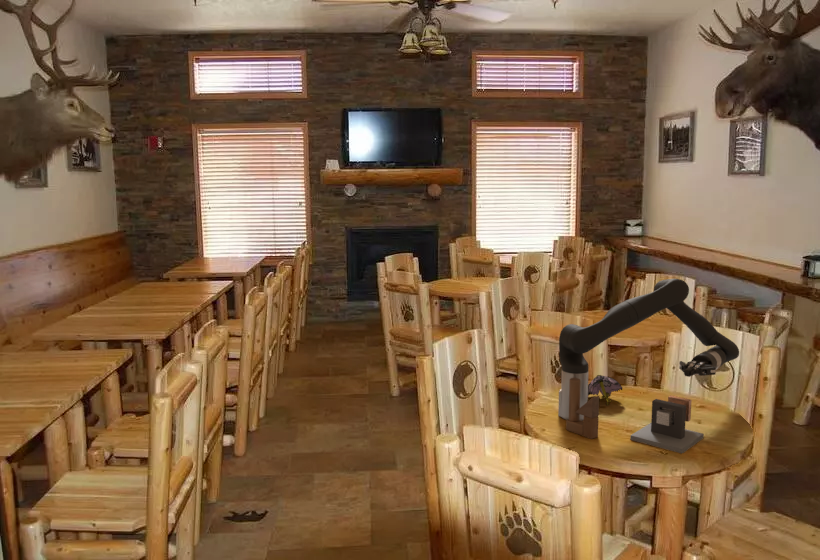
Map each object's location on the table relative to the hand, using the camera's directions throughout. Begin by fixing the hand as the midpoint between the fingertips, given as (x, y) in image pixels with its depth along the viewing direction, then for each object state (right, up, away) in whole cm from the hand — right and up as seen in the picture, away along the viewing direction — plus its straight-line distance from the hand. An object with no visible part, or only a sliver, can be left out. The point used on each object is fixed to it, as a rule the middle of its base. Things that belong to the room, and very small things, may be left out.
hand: (687, 373), depth 229 cm
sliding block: (-8, -16, -6) cm, 18 cm away
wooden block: (-36, -20, -1) cm, 41 cm away
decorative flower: (-20, -15, +30) cm, 40 cm away
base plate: (-10, -20, -7) cm, 24 cm away
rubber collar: (-9, -19, -7) cm, 22 cm away
